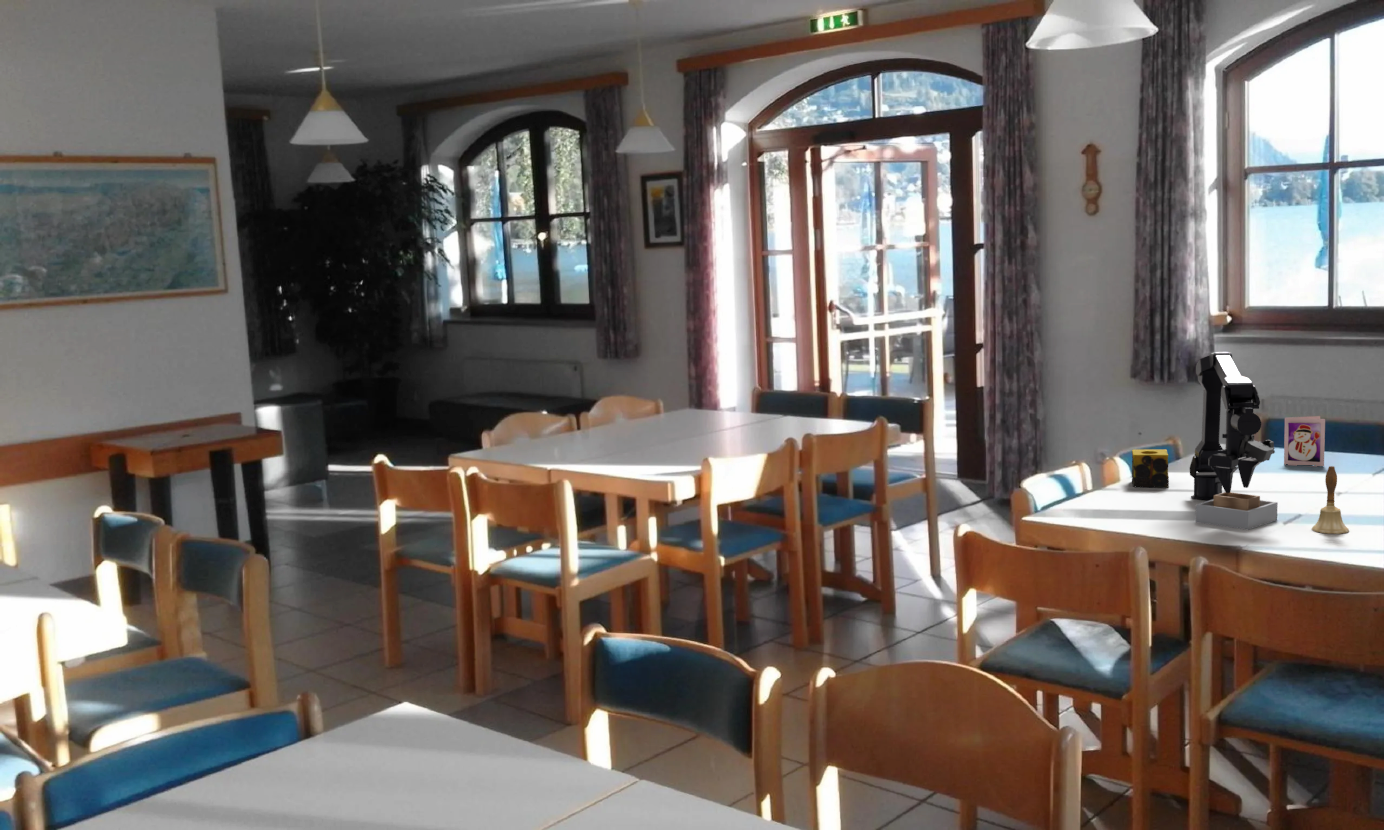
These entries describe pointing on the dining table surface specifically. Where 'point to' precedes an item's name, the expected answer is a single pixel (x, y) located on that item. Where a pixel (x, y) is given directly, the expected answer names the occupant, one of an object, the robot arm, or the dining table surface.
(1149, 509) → the dining table surface
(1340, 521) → the hand bell
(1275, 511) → the grey crate
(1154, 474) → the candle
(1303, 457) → the greeting card
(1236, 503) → the walnut crate
